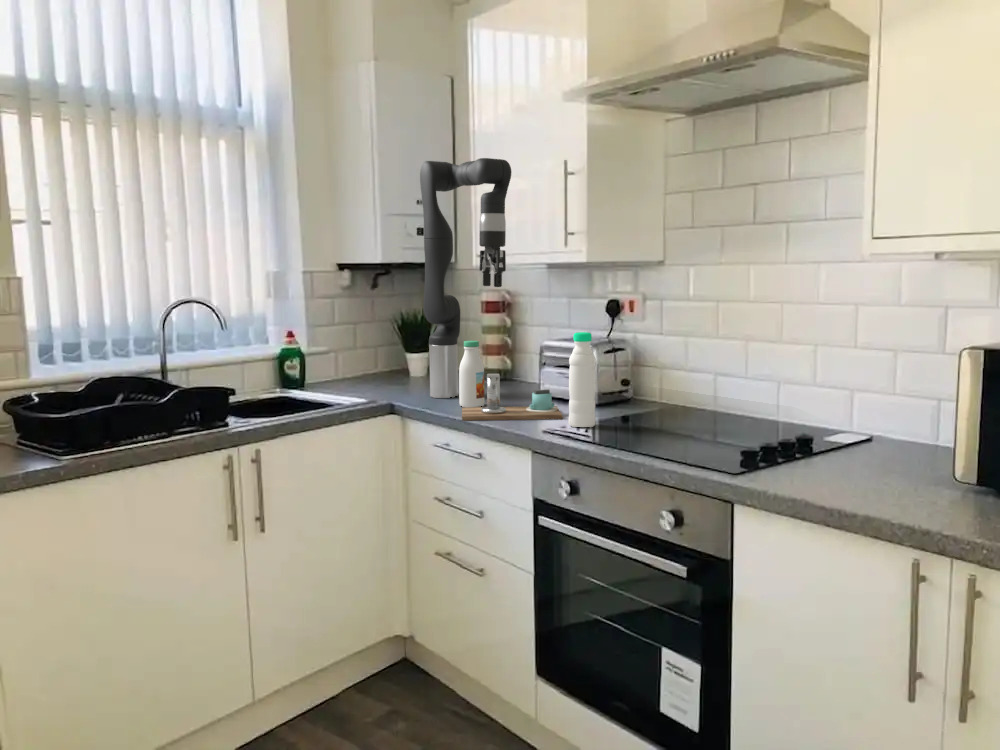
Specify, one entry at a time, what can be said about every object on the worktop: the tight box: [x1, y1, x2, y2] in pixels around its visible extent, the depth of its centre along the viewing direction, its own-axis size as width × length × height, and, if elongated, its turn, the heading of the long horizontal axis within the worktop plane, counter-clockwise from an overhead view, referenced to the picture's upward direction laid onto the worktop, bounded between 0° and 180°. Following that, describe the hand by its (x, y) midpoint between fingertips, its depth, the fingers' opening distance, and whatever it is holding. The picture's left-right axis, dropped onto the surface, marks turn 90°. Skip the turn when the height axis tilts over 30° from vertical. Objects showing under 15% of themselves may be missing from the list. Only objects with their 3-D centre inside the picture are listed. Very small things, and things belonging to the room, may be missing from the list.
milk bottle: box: [458, 340, 485, 408], centre depth 242 cm, size 8×8×20 cm
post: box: [481, 373, 506, 414], centre depth 226 cm, size 7×7×11 cm
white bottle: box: [568, 331, 597, 428], centre depth 210 cm, size 7×7×25 cm
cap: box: [529, 389, 555, 410], centre depth 229 cm, size 7×6×5 cm
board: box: [461, 405, 563, 422], centre depth 228 cm, size 14×28×2 cm, turn 93°
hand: (492, 286), depth 231 cm, fingers open, 8 cm apart
